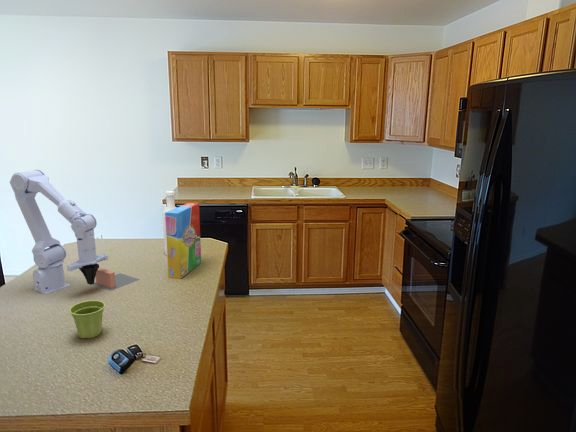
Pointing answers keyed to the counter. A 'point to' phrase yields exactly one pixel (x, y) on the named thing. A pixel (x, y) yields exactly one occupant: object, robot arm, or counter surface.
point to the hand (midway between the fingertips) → (90, 283)
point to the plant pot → (88, 317)
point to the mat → (120, 281)
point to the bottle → (169, 207)
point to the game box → (183, 239)
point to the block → (105, 278)
